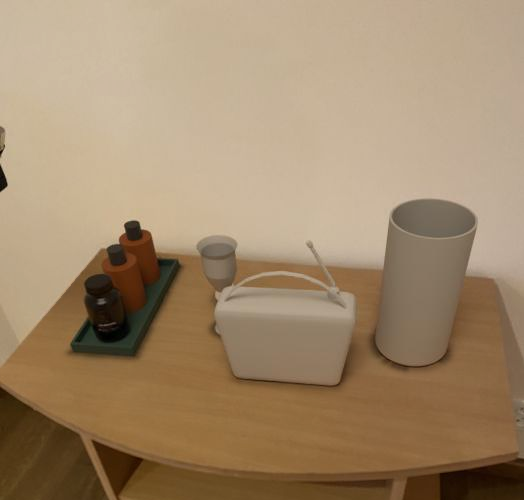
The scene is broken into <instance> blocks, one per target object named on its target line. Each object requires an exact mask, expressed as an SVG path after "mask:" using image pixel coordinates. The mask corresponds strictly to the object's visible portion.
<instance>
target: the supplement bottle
mask: <svg viewBox="0 0 524 500" xmlns="http://www.w3.org/2000/svg"><path fill="white" fill-rule="evenodd" d="M83 286H84V289H85V295H84V297H83V304H84V308H85V310H86V314H87V317H88V316H89V319H90V322H91V325H92V328H93V331H94V334H95V336H96V338H97V339H98V340H100V341H102V342H108V343H110V342H116V341H119V340H121V339H123V338H124V337H126V336H127V335H128V333H129V331H130V324H129V320H128V316H127V313H126V309H125V305H124V302H123V298H122V295H121V292H120V291H119V290H118V289H117V288H116V287H114V286H113V283H112V280H111V277H110V276H108V275H107V274H104V273H96V274H92V275H90V276H88V277H87V278H85V280H84V282H83Z"/></svg>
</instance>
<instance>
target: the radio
mask: <svg viewBox="0 0 524 500" xmlns="http://www.w3.org/2000/svg"><path fill="white" fill-rule="evenodd" d="M305 245H306V246H307V248H309V250H310V251H311V254H313V256H314V258H315V259H316V261H317V263H318V265H319V266H320V268H321V269H322V271H323V273H324V274H325V276H326V278H327V279H328V282H329V283H330V284H331V285H330V286H329V285H327V284H325V283H324V282H323V281H321V280H319V279H317V278H314V277H312V276H309V275H306V274H305V273H299V272H292V271H286V270H278V271H277V270H276V271H263V272H260V273H258V274H255V275H252V276H248V277H246V278H245V279H243V280H242V281H240V282H239V283H237V284H236V285H234V286H229V287H226V288H224V289H223V290H222V292H221V294H220V297H219V299H218V300H217V302H216V305H215V307H214V310H213V317H214V320H215V323H217V326H218V329H219V332H220V334H219V335H220V338H221V342H222V344H223V347H224V350H225V353H226V355H227V360H228V362H229V365H230V368H231V371H232V374H233V376H235V377H236V378H238V379H244V380H245V379H246V380H256V381H266V382H267V381H269V382H282V383H293V384H305V385H316V386H317V385H318V386H331V387H332V386H337V385H339V383H340V382H341V379H342V374H343V371H344V367H345V363H346V360H347V357H348V352H349V350H350V346H351V343H352V338H353V335H354V331H355V328H356V324H357V310H358V309H357V307H358V302H357V297H356V296H355V295H354V294H353V293H351V292H349V291H342V290H341V291H340V288H339V287H338V286H337V284H336V282H335V281H334V279H333V277H332V275H331V274H330V272H329V270H328V269H327V267H326V265H325V264H324V262H323V260H322V258H321V257H320V255H319V253H318V252H317V250H316V248H315V247H314V243H313V242H312V240H311V239H309V240H307V241H306V242H305ZM273 276H285V277H292V278H298V279H303V280H306V281H308V282H311V283H312V284H315V285H318V286H320V287H321V288H323V289H325V290H320V289H319V290H318V289H300V288H299V289H297V288H280V287H279V288H278V287H277V288H276V287H259V286H243V285H244V284H246V283H247V282H250V281H254V280H256V279H259V278H263V277H273Z"/></svg>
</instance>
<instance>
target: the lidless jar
mask: <svg viewBox="0 0 524 500" xmlns="http://www.w3.org/2000/svg"><path fill="white" fill-rule="evenodd" d="M232 286H235V285H234V283H233V284H232ZM220 294H221V293H219V292H217V291H216V290H215V293H214V298H215V300H216V301H218V299H219V297H220Z"/></svg>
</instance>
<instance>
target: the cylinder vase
mask: <svg viewBox="0 0 524 500" xmlns="http://www.w3.org/2000/svg"><path fill="white" fill-rule="evenodd" d="M388 218H389V219H388V227H387V235H386V241H385V242H386V243H385V250H384V260H383V268H382V276H381V285H380V292H379V293H380V294H379V302H378V311H377V319H376V326H375V327H376V328H375V329H376V330H375V339H374V341H375V342H374V343H375V345H376V348H377V350H378V351H379V353H381V354H382V356H384V357H385V358H386V359H388V360H390V361H391V362H393V363H395V364H399V365H401V366H407V367H424V366H429V365H431V364H434V363H436V362H438V361H439V360H441V359H442V358H443V357H444V355H445V354H446V353H447V351H448V346H449V343H450V339H451V335H452V330H453V326H454V323H455V322H454V321H455V318H456V314H457V309H458V307H459V301H460V298H461V293H462V290H463V287H464V281H465V277H466V274H467V269H468V266H469V261H470V257H471V254H472V249H473V245H474V241H475V237H476V234H477V229H478V224H479V218H478V216H477V214H476V213H475V212H474V211H473V210H471V209H470V208H468V207H467V206H466V205H464V204H462V203H461V204H460V203H458V202H455V201H452V200H447V199H442V198H432V197H431V198H416V199H415V198H414V199H410V200H407V201H403V202H400V203H399V204H397V205H396V206H394V207H393V208H392V209H391V210H390V212H389V217H388Z"/></svg>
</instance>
